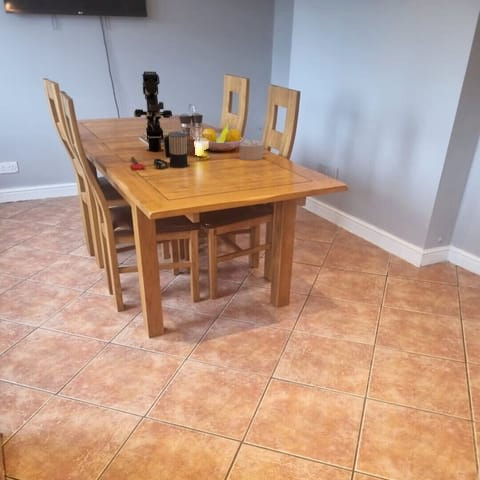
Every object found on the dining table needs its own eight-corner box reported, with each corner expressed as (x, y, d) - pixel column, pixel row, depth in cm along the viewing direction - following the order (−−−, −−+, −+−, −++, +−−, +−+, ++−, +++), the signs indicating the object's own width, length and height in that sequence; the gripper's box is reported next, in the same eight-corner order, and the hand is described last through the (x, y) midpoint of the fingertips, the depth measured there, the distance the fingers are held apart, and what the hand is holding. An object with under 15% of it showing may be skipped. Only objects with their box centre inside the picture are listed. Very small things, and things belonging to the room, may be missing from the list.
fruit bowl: (227, 156, 244) (227, 134, 238) (187, 149, 256) (186, 127, 250) (253, 147, 264) (254, 126, 258) (215, 141, 276) (215, 121, 270)
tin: (183, 153, 247) (182, 137, 243) (187, 152, 249) (187, 136, 245) (202, 158, 239) (201, 141, 234) (206, 157, 241) (206, 140, 236)
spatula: (127, 159, 232) (127, 157, 231) (138, 159, 234) (138, 156, 233) (133, 170, 216) (133, 167, 215) (144, 169, 217) (144, 166, 216)
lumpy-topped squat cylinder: (265, 158, 243) (266, 141, 238) (246, 161, 236) (246, 143, 231) (253, 154, 250) (254, 137, 245) (234, 157, 243) (235, 140, 238)
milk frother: (191, 164, 227) (190, 133, 219) (175, 172, 215) (173, 139, 207) (167, 161, 232) (165, 130, 224) (150, 168, 219) (147, 135, 211)
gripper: (135, 94, 219) (138, 128, 223) (173, 96, 225) (175, 129, 229) (132, 99, 229) (135, 132, 233) (168, 100, 235) (171, 132, 239)
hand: (154, 131), depth 234 cm, fingers closed
